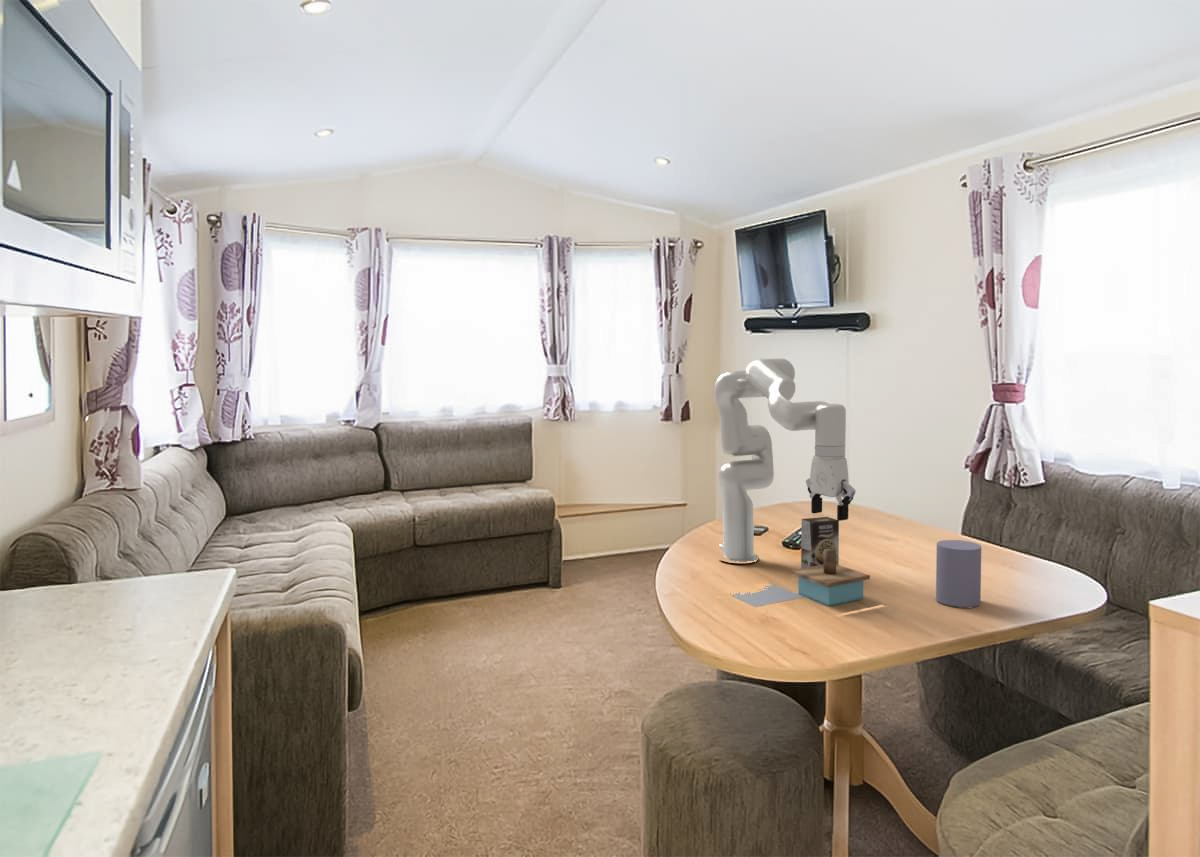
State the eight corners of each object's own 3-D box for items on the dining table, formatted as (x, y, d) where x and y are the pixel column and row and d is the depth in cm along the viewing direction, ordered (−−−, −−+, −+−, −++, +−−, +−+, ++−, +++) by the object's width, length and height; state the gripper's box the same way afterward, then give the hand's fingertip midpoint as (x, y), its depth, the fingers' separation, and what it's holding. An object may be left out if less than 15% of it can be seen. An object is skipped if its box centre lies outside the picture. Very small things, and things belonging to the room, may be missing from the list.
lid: (791, 573, 202) (791, 548, 202) (831, 566, 208) (831, 541, 207) (827, 587, 190) (827, 560, 189) (869, 579, 195) (869, 552, 195)
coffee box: (812, 577, 219) (811, 522, 217) (800, 571, 225) (800, 518, 224) (839, 574, 221) (839, 519, 220) (827, 568, 228) (827, 515, 226)
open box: (798, 596, 202) (798, 574, 202) (832, 589, 207) (832, 568, 206) (828, 608, 192) (828, 585, 191) (863, 601, 196) (863, 578, 196)
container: (937, 593, 201) (938, 538, 200) (980, 598, 196) (981, 541, 195) (934, 605, 192) (935, 547, 190) (980, 610, 187) (981, 551, 186)
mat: (719, 592, 207) (719, 590, 207) (767, 583, 214) (767, 581, 214) (755, 609, 193) (755, 606, 193) (804, 599, 200) (804, 596, 199)
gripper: (796, 449, 202) (796, 511, 204) (842, 456, 186) (841, 524, 188) (818, 446, 205) (818, 508, 207) (865, 454, 190) (864, 521, 191)
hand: (829, 516), depth 198 cm, fingers open, 9 cm apart
